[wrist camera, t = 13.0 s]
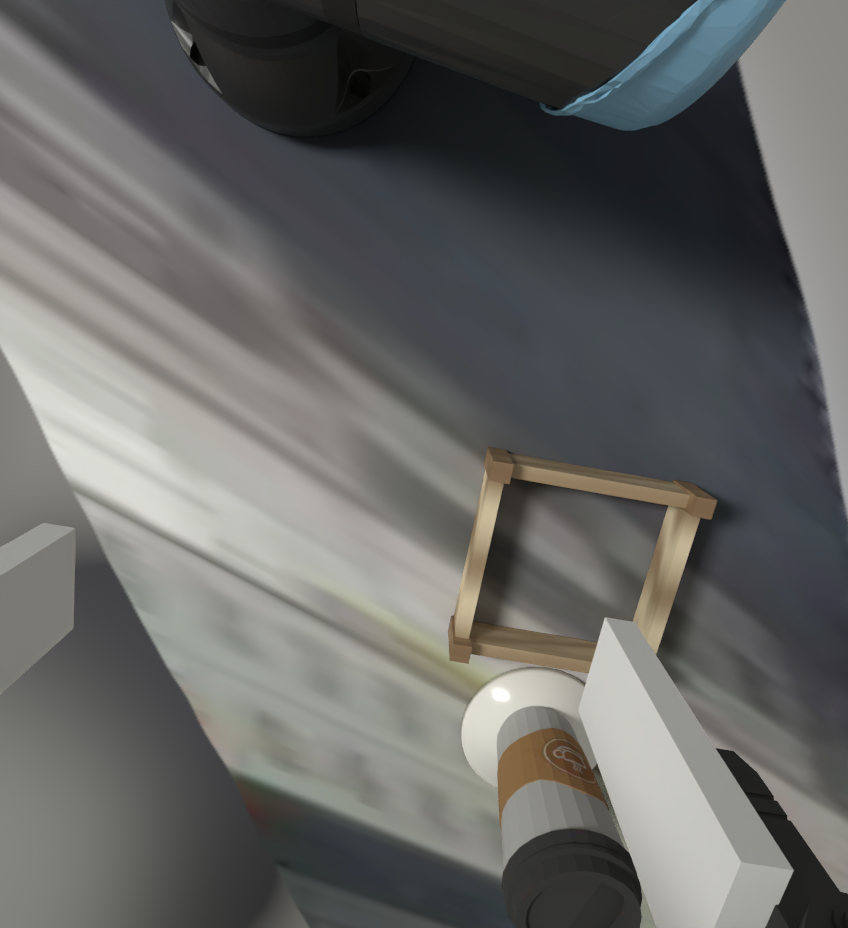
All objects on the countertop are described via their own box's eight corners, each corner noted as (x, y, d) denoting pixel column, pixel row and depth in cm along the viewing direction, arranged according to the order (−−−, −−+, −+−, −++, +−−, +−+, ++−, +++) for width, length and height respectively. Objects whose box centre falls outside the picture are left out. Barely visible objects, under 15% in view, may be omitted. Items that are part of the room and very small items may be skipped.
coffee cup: (604, 716, 48) (678, 895, 33) (554, 791, 50) (604, 990, 35) (513, 676, 47) (549, 843, 32) (466, 755, 49) (480, 944, 34)
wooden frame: (487, 446, 43) (493, 460, 39) (691, 482, 43) (717, 500, 39) (448, 631, 47) (449, 660, 43) (635, 662, 47) (653, 693, 43)
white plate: (476, 655, 47) (477, 661, 47) (621, 679, 48) (624, 685, 47) (448, 776, 50) (449, 783, 50) (584, 797, 51) (587, 805, 50)
